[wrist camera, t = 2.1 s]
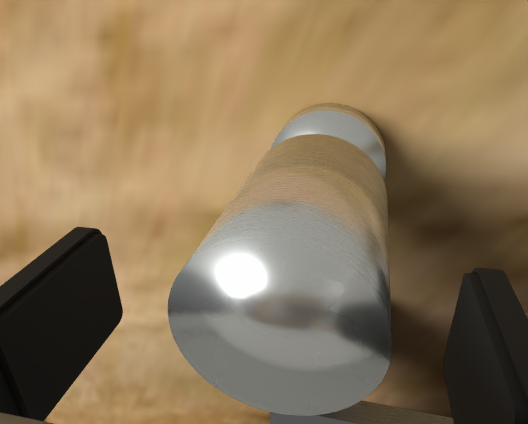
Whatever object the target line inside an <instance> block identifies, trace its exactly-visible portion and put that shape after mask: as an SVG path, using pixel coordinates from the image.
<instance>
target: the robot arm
mask: <svg viewBox="0 0 528 424" xmlns="http://www.w3.org/2000/svg"><path fill="white" fill-rule="evenodd" d="M122 313H123V310H122V305H121V300H120V296H119V291H118V287H117V283H116V278H115V274H114V269H113V265H112V261H111V256H110V252H109V247H108V243H107V239H106V237H105V236H104V235H103V234H102V233H101V232H100V230H98V229H95V228H85V227H76V228H74V229H73V230H72V231H70V232H69V233H68V234H67V235H65V236H64V237H63V238H61V239H60V240H59V241H58V242H56V243H55V244H54V245H53V246H51V247H50V248H49V249H47V250H46V251H45V252H44V253H42V254H41V255H40V256H38V257H37V258H36V259H35V260H33V261H32V262H31V263H30V264H28V265H27V266H26V267H24V268H23V269H22V270H21V271H19V272H18V273H17V274H16V275H14V276H13V277H12V278H10V279H9V280H8V281H7V282H5V283H4V284H3V285H1V286H0V424H53V423H48V422H43V421H44V420H45V419H46V417H47V416H48V415H49V414H50V412H51V411H52V410H53V408H54V407H55V406H56V404H57V403H58V402H59V401H60V399H61V398H62V397H63V395H64V394H65V393H66V391H67V390H68V389H69V388H70V386H71V385H72V384H73V382H74V381H75V380H76V378H77V377H78V376H79V375H80V373H81V372H82V371H83V369H84V368H85V367H86V365H87V364H88V363H89V362H90V360H91V359H92V358H93V356H94V355H95V354H96V352H97V351H98V350H99V349H100V347H101V346H102V345H103V343H104V342H105V341H106V339H107V338H108V337H109V335H110V334H111V333H112V332H113V330H114V329H115V328H116V326H117V325H118V324H119V322H120V321H121V318H122ZM443 370H444V376H445V381H446V386H447V391H448V396H449V401H450V406H451V412H452V417H453V422H454V424H528V319H527V317H526V315H525V313H524V311H523V309H522V307H521V305H520V303H519V301H518V299H517V296H516V294H515V292H514V290H513V288H512V286H511V284H510V282H509V280H508V278H507V276H506V274H505V272H504V271H502V270H495V269H485V268H475V269H474V270H473V273H465V274H464V277H463V280H462V284H461V288H460V293H459V297H458V301H457V305H456V309H455V313H454V317H453V321H452V325H451V330H450V334H449V338H448V342H447V346H446V350H445V354H444V360H443Z"/></svg>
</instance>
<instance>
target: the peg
mask: <svg viewBox="0 0 528 424" xmlns="http://www.w3.org/2000/svg"><path fill="white" fill-rule="evenodd" d="M385 176H386V153H385V146H384V142H383V139H382V136H381V134H380V132H379V131H378V129H377V127H376V126H375V125H374V123H373V122H372V121H371V120H370V119H369V118H368V117H367V116H365V115H364V114H363V113H361V112H359V111H358V110H356V109H354V108H351V107H349V106H345V105H341V104H334V103H326V104H318V105H314V106H311V107H308V108H306V109H304V110H302V111H300V112H299V113H297V114H296V115H295V116H293V117H292V118H291V119H290V120H289V121H288V122H287V124H286V125H285V126H284V128H283V129H282V130H281V132H280V133H279V135H278V136H277V138H276V139H275V141H274V143H273V145H272V147H271V149H270V150H269V151H268V152H267V153H266V154H265V155H264V156H263V157H262V158H261V160H260V161H259V163H258V164H257V165H256V167H255V168H254V170H253V171H252V172H251V174H250V175H249V177H248V178H247V179H246V181H245V182H244V184H243V185H242V186H241V188H240V189H239V191H238V192H237V193H236V195H235V196H234V197H233V199H232V200H231V202H230V203H229V204H228V206H227V207H226V209H225V210H224V211H223V213H222V214H221V216H220V217H219V218H218V220H217V221H216V223H215V224H214V225H213V227H212V228H211V230H210V231H209V232H208V234H207V235H206V237H205V238H204V239H203V241H202V242H201V244H200V245H199V246H198V248H197V249H196V251H195V252H194V253H193V255H192V256H191V258H190V259H189V260H188V262H187V263H186V265H185V266H184V267H183V269H182V270H181V272H180V273H179V274H178V276H177V277H176V279H175V281H174V283H173V286H172V288H171V291H170V295H169V299H168V318H169V324H170V328H171V332H172V334H173V337H174V339H175V342H176V343H177V345H178V347H179V349H180V351H181V352H182V354H183V355H184V357H185V358H186V360H187V361H188V362H189V363H190V365H191V366H192V367H193V368H194V369H195V370H196V371H197V372H198V373H199V374H200V375H201V376H202V377H203V378H204V379H205V380H207V381H208V382H209V383H210V384H212V385H213V386H214V387H216V388H217V389H219V390H220V391H222V392H223V393H225V394H227V395H228V396H230V397H232V398H234V399H236V400H238V401H240V402H243V403H245V404H247V405H250V406H253V407H255V408H258V409H261V410H265V411H269V412H273V413H279V414H285V415H296V416H313V415H322V414H328V413H332V412H336V411H340V410H342V409H345V408H348V407H350V406H352V405H354V404H356V403H358V402H360V401H361V400H363V399H364V398H365V397H367V396H368V395H369V394H370V393H371V392H373V391H374V390H375V389H376V388H377V386H378V385H379V384H380V382H381V381H382V379H383V378H384V376H385V374H386V372H387V370H388V367H389V363H390V360H391V352H392V330H391V300H390V270H389V240H388V210H387V192H386V187H385V183H384V181H385Z"/></svg>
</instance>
